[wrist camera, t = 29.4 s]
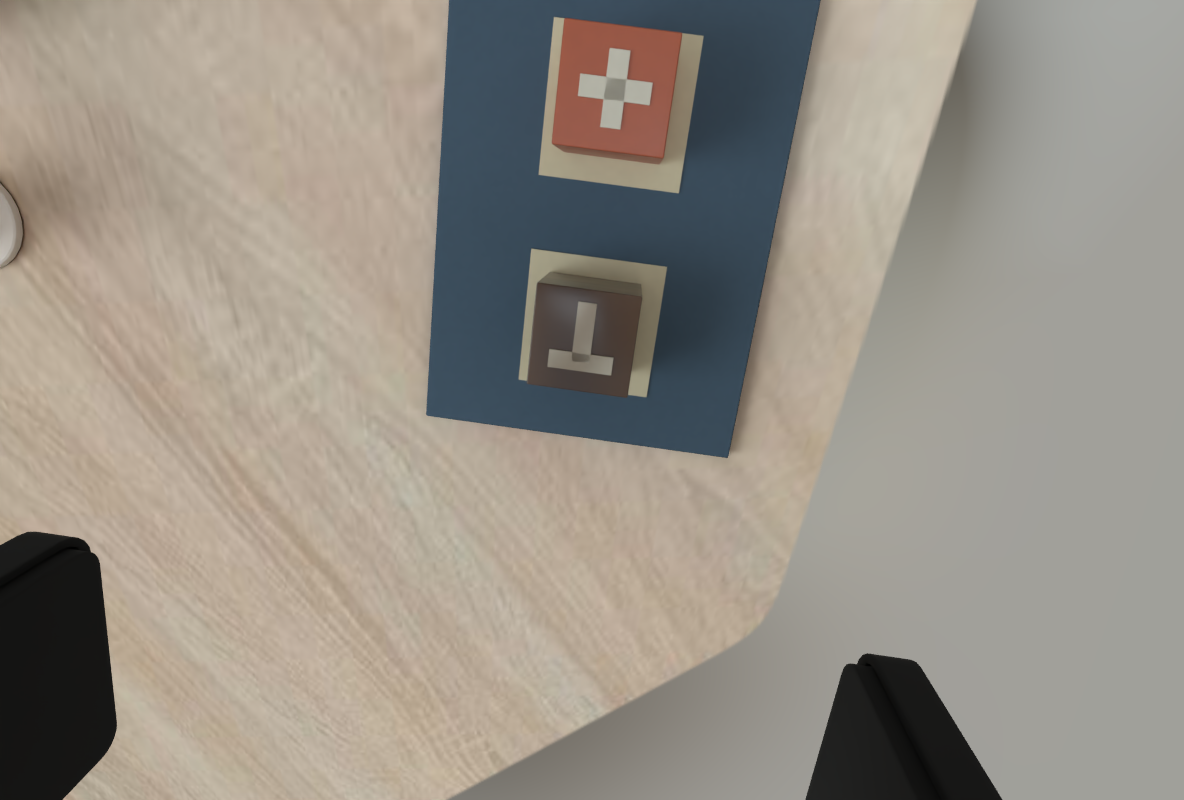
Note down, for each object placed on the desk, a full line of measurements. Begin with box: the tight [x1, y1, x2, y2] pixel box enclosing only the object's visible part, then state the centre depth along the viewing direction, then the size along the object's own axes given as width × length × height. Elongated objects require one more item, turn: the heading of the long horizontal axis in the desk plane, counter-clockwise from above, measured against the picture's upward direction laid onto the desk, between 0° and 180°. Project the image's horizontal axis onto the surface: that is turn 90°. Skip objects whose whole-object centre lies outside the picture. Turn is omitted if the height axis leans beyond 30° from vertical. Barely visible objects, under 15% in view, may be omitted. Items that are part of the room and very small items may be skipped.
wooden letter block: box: [527, 272, 642, 398], centre depth 30 cm, size 4×4×5 cm
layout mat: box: [426, 0, 820, 458], centre depth 32 cm, size 16×22×1 cm
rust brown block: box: [552, 18, 682, 165], centre depth 28 cm, size 4×4×5 cm
